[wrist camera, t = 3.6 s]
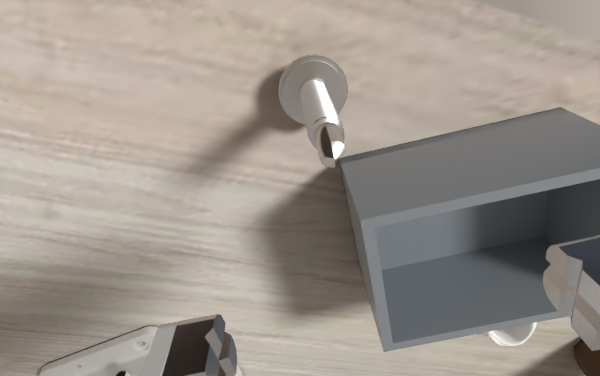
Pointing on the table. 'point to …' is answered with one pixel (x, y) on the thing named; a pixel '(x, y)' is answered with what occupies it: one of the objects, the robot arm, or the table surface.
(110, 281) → the table surface
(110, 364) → the robot arm
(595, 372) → the beer bottle
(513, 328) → the white crumpled ring
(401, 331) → the tote
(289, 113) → the screw
